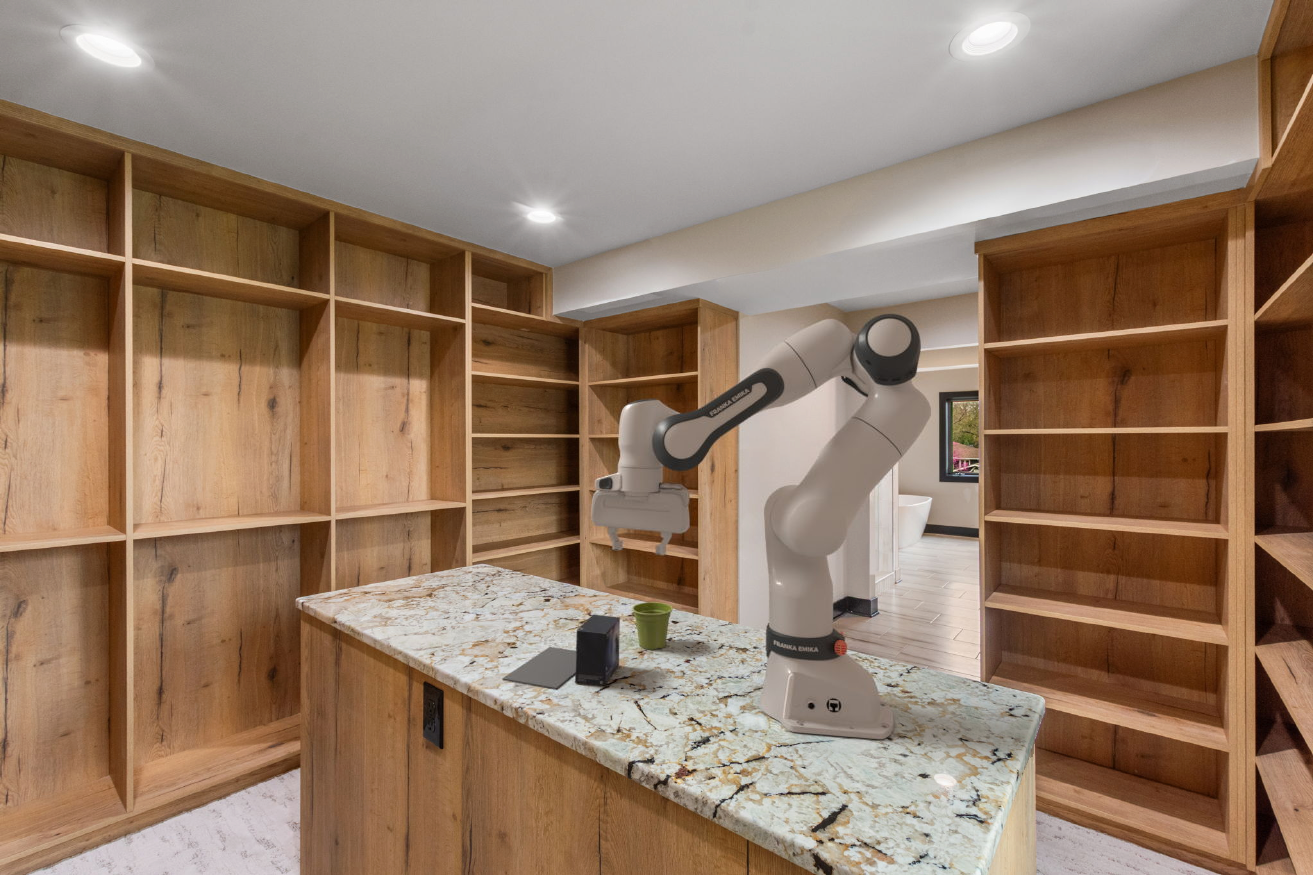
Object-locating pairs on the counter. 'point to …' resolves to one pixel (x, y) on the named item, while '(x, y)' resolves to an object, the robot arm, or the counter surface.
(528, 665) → the mat
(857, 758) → the counter surface
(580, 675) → the small box
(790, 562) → the robot arm
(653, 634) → the plant pot
